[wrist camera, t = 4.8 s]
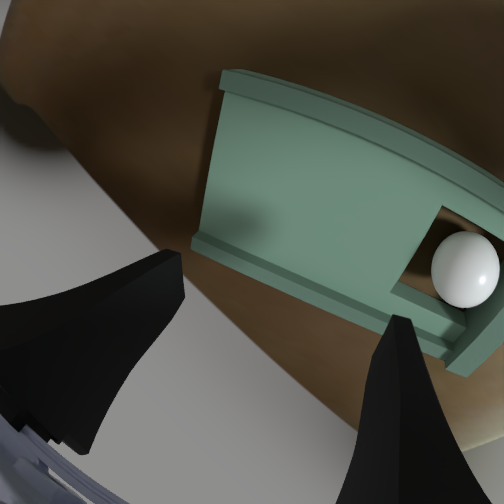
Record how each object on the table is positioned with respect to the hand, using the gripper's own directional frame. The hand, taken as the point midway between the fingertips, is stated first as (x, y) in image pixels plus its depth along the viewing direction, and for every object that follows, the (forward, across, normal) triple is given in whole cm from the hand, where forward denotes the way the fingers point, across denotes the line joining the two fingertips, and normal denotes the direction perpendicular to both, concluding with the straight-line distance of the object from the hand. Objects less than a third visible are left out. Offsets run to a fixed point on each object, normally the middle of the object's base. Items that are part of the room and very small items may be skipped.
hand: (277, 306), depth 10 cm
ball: (+7, -8, +1) cm, 11 cm away
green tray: (+9, -3, +1) cm, 10 cm away
